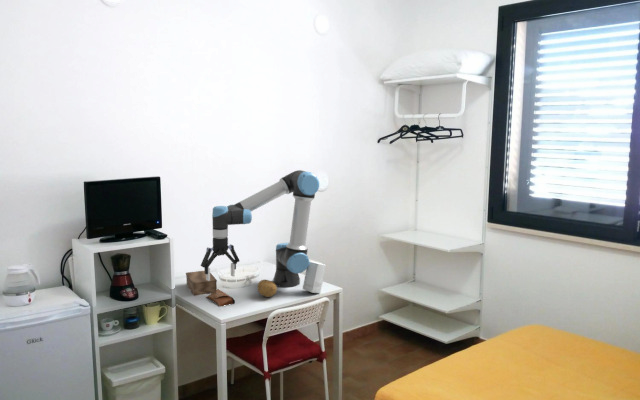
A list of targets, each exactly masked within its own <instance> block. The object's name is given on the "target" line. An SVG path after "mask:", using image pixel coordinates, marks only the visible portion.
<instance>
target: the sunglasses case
mask: <svg viewBox="0 0 640 400" xmlns="http://www.w3.org/2000/svg"><path fill="white" fill-rule="evenodd" d="M205 298H206V299H208V300H210V301H211V302H212V303H215V304H216V305H217V306H218V307H219V306H222V307H225V306H224V305H226V306H230V305H229V304H231V305H235V303H236V302H235V301H236V300H235V299H234V297H232V296H230V295H229V294H228V293H226V292H224V291H222V290H220V289H219V288H217V290H216V291H215V292H213V293H210V294H209V295H207V296H206V297H205Z"/></svg>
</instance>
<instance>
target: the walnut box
mask: <svg viewBox="0 0 640 400" xmlns="http://www.w3.org/2000/svg"><path fill="white" fill-rule="evenodd" d="M185 275H186V276H185V277H186V286H187V287H188V289H189V291H190V292H191V294H192V295H193V296H194V297H195V296H200V295H201V296H202V295H208V294H209V295H210V294H212V293H213V292H215V291H216V290H217V289H218V288H217V282H218V279H217V278H216V277H215V276H214V275H213V274H212V273H211V272H210V281H208V280H206V274H205V270H198V271H190V272H185Z"/></svg>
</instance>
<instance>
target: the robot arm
mask: <svg viewBox="0 0 640 400" xmlns="http://www.w3.org/2000/svg"><path fill="white" fill-rule="evenodd" d="M319 189H320V180H319V178H318V176H316V174H314V173H312V172H311V171H305V170H302V169H299V170H298V169H297V170H295V171H292V172H290V173H288V174H287V175H284V176H282V177H281V178H280V179H279V180H278V181H277V182H275V183H274V184H271V185H270V186H267V187H266V188H263V189H261V190H260V191H258V192H256V193H254V194H252V195H250V196H248V197H246V198H244V199H243V200H240V201H239V202H236V203H235V204H229V205H226V206H225V205H216V206H214V207H212V214H211V217H212V220H211V221H212V247H206V250H205V254H204V256H203V259H202V260H201V264H200V266H201V267H202V268H204V271H205V274H206V280H208V281H210V273H211V271H210V269H211V268H210V265H211V264H212V263H213V262H214V260H215V258H217V257H218V256H219V257H220V256H226V257H227V258H228V260H230V261H231V262H230V276H231V277H235V270H236V269H237V264H238V263H239V262H240V258H239V257H238V255H237V253H236V251H235V246H234V245H233V244H229V237H228V235H229V234H228V233H229V226H234V225H248V224H251V222H252V221H253V216H252V214H253V213H252V212H253V211H254V210H257V209H259V208H260V207H263V206H264V205H267V204H269V203H270V202H272V201H274V200H277V199H278V198H280V197H281V196H283V195H289V194H291V193H292V197H293V198H294V206H293V214H292V222H291V227H290V228H291V229H290V236H289V242H281V243H277V244H276V245H275V273H274V275H273V279H272V282H274V283H275V285H276V287H280V288H281V287H282V288H290V287H292V288H293V287H296V286H298V285H300V282H301V279H300V276H299V274H301V273H303V272H306V269H307V267H308V265H309V261H310V258H309V257H308V249H309V248H308V247H307V245H306V242H307V236H308V228H309V221H310V214H311V213H310V211H311V205H312V201H313V200H315V196H316V193H317V192H318V191H319ZM228 250H229V251H230V253H231V254H232V255H231V254H230V253H229V252H228Z"/></svg>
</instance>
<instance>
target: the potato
mask: <svg viewBox="0 0 640 400" xmlns="http://www.w3.org/2000/svg"><path fill="white" fill-rule="evenodd" d="M257 291H258V293H259V294H260V295H261V296H263V297H267V298H270V297H273V296H274V295H276V293H277V291H278V286H276V285H275V283H274V282H273V280H268V279H261V280H260V281H259V282H258V283H257Z"/></svg>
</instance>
